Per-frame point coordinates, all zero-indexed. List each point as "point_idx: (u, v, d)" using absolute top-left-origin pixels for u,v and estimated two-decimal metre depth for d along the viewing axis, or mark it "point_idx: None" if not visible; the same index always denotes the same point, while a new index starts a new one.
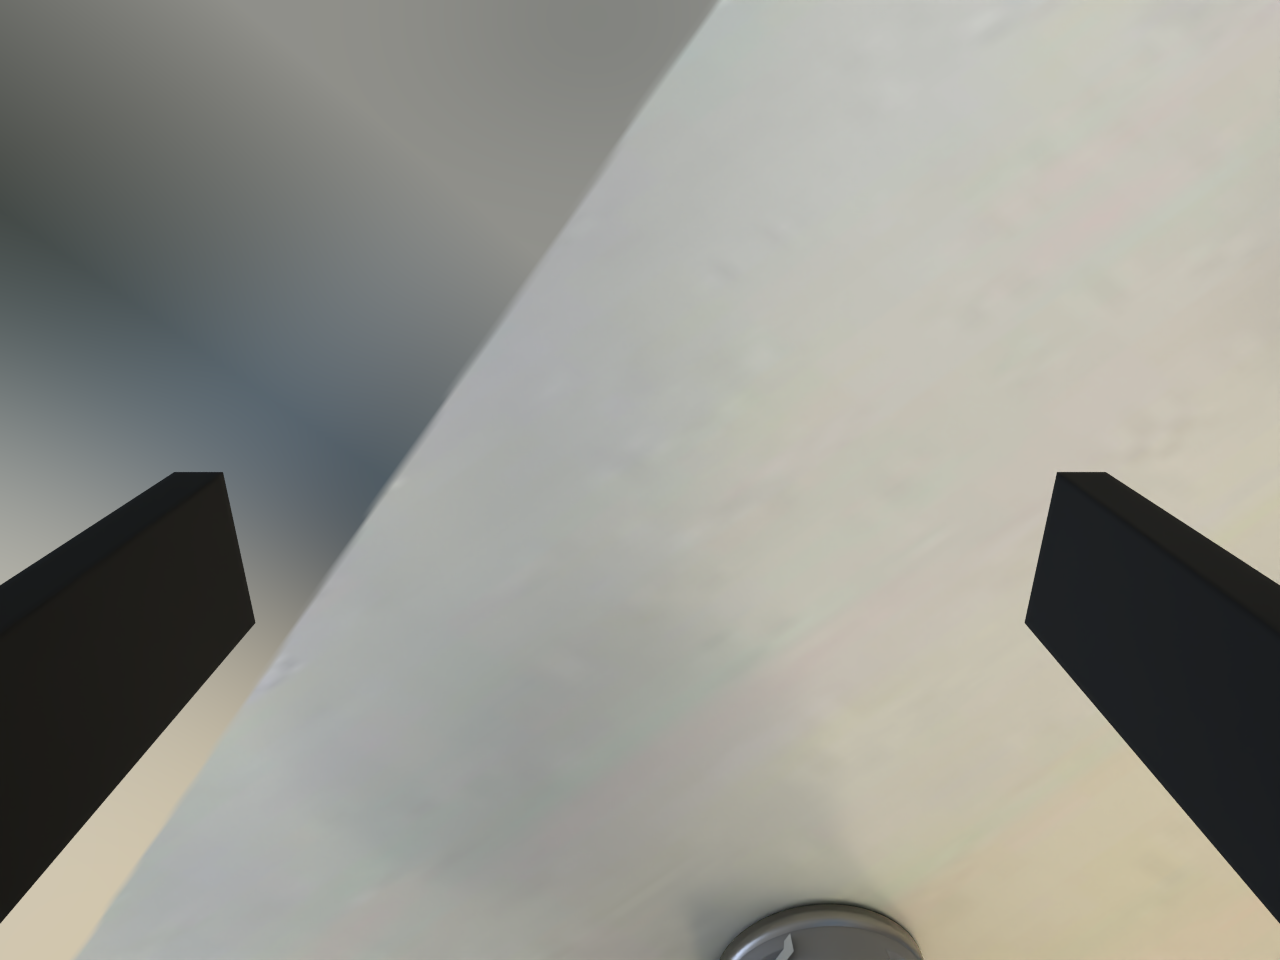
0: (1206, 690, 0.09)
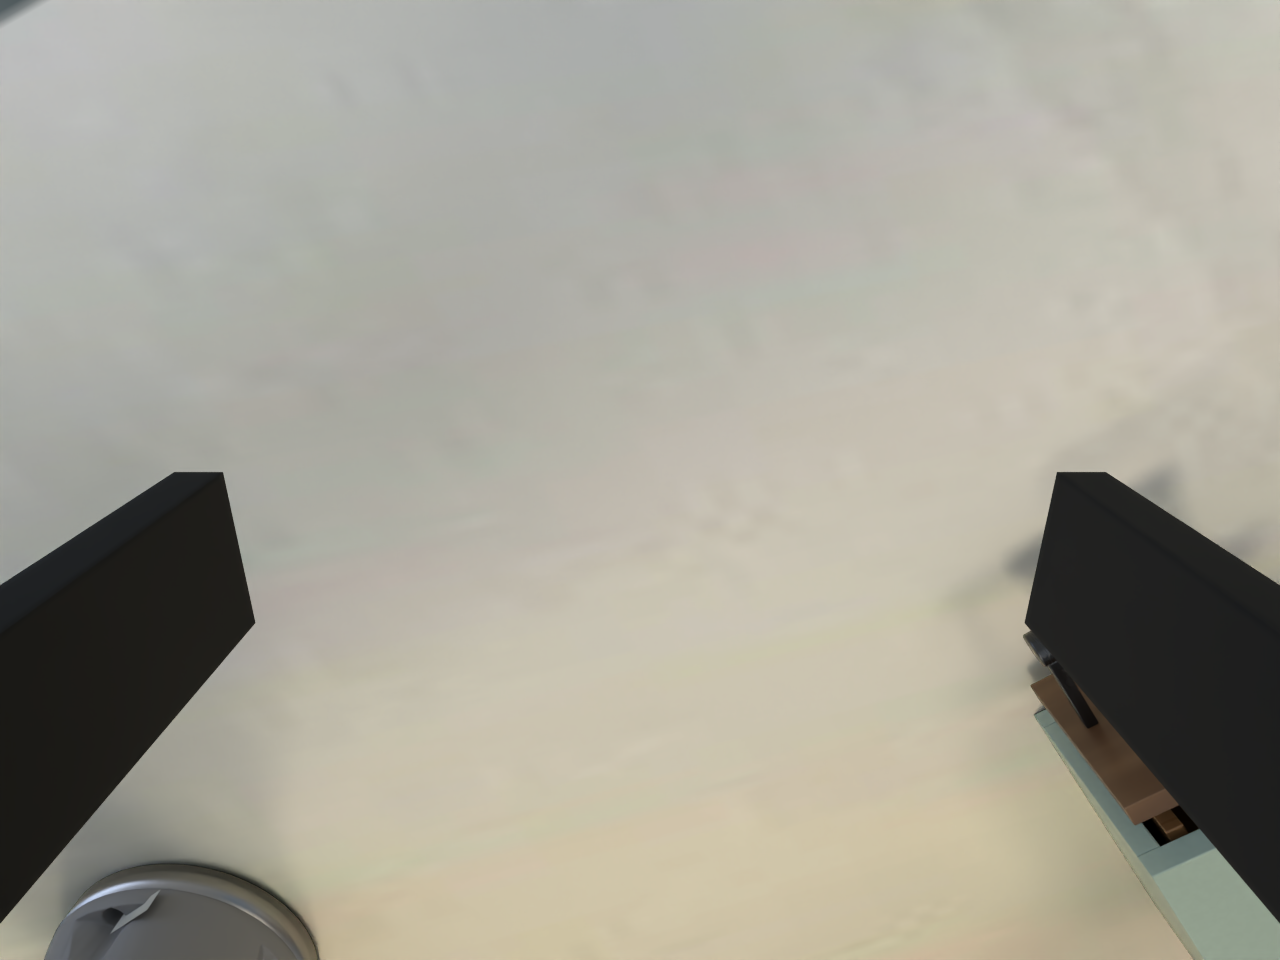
0: (1206, 691, 0.09)
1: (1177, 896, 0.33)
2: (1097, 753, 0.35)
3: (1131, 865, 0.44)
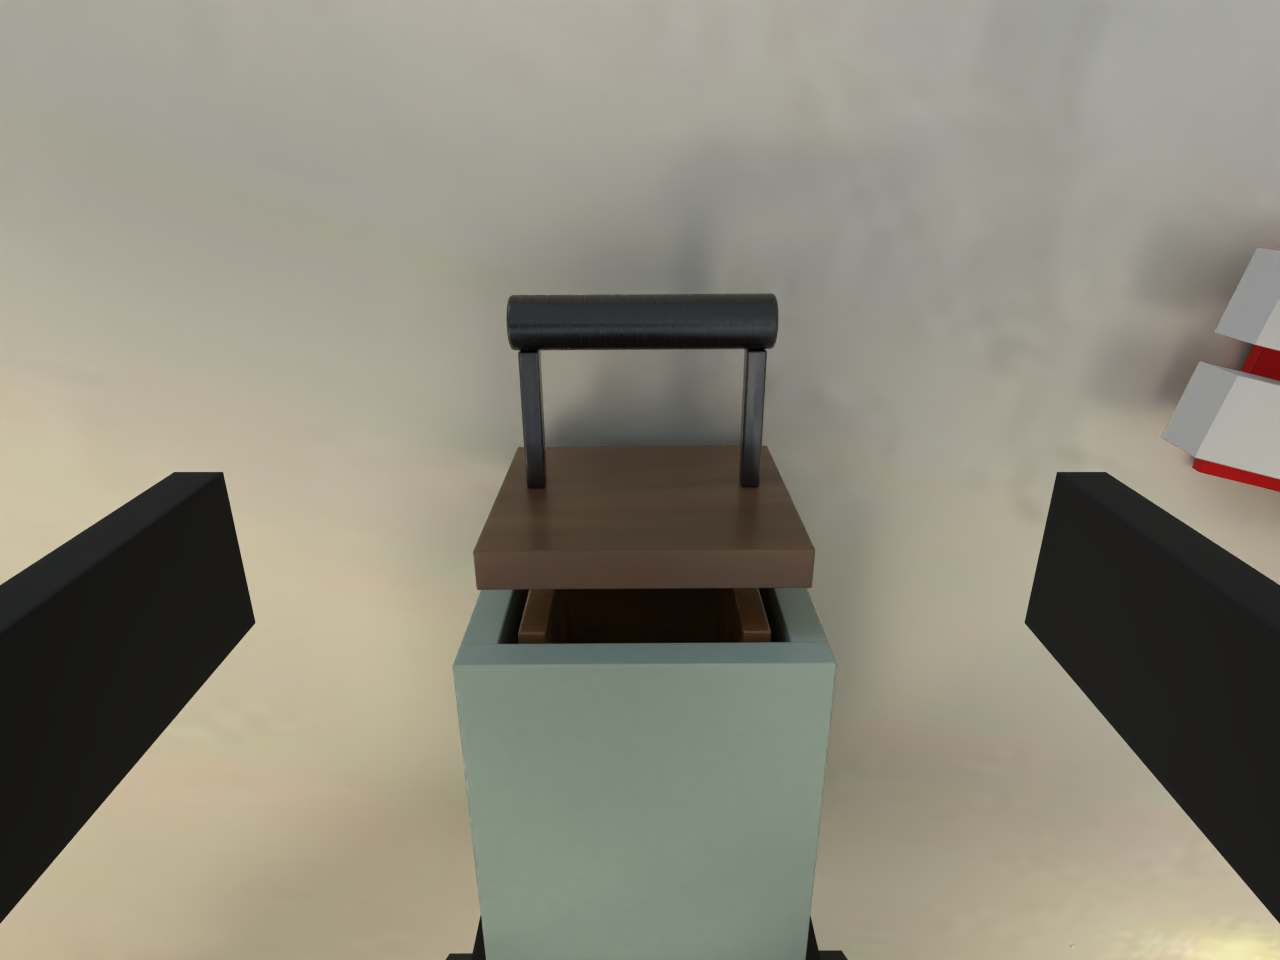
0: (1206, 690, 0.09)
1: (474, 716, 0.21)
2: (510, 506, 0.23)
3: None
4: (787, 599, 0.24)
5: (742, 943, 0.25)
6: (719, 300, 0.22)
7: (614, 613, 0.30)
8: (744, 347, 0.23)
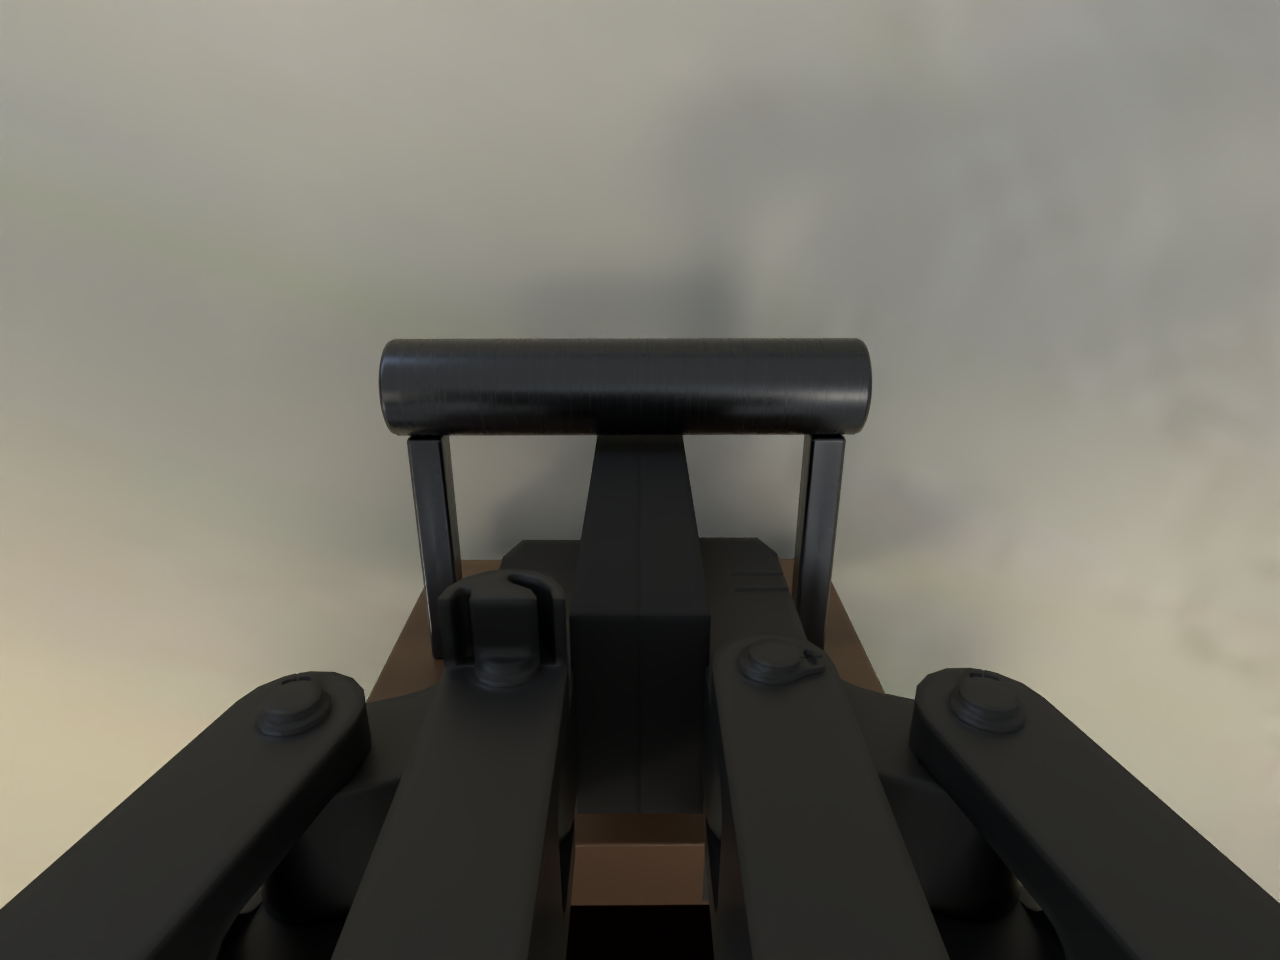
0: None
1: None
2: None
3: None
4: None
5: None
6: (765, 351, 0.12)
7: None
8: (807, 433, 0.13)
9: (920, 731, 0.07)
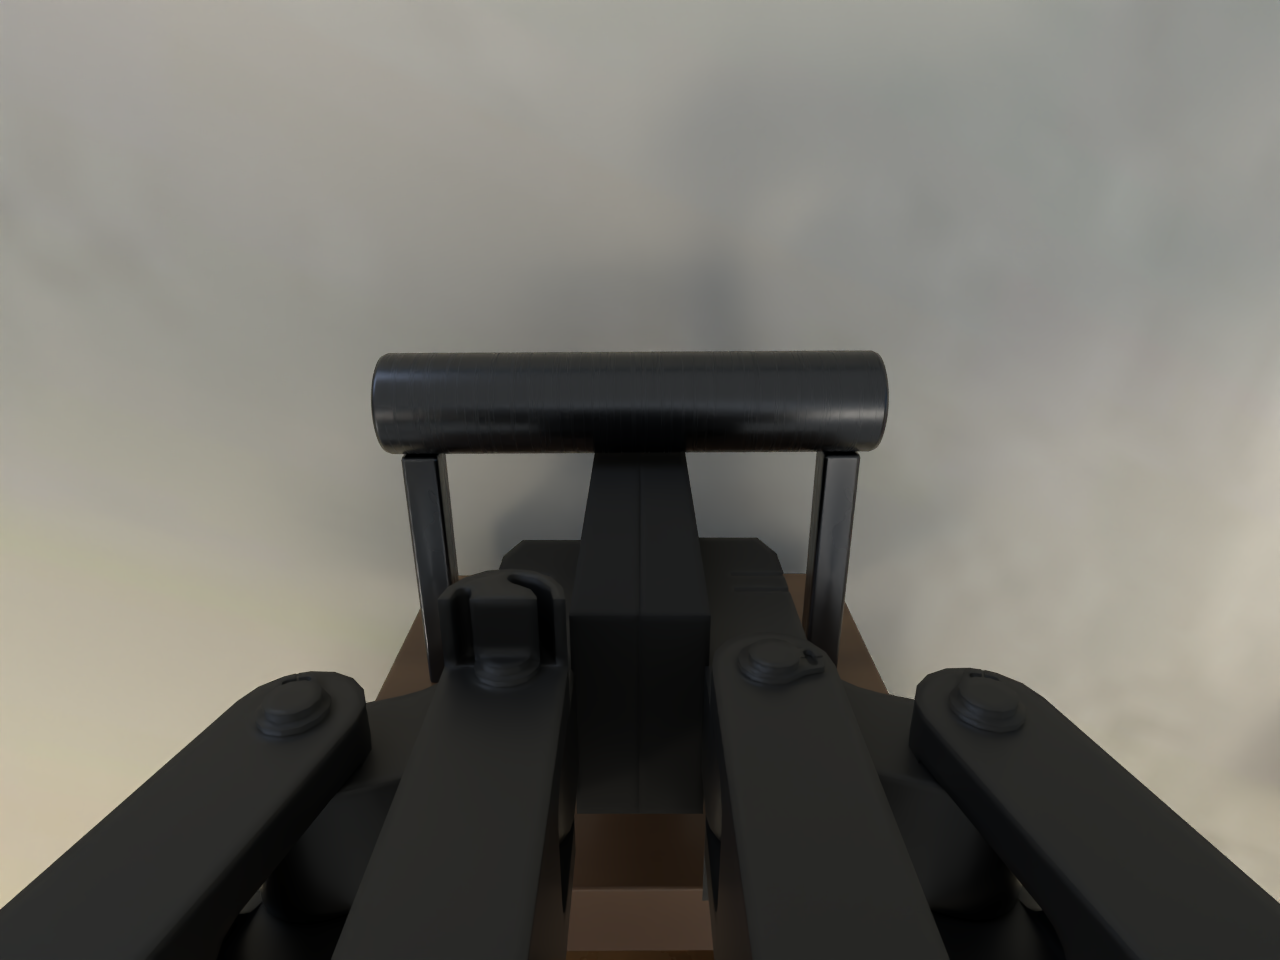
0: None
1: None
2: None
3: None
4: None
5: None
6: (776, 365, 0.12)
7: None
8: (820, 450, 0.12)
9: (919, 732, 0.07)
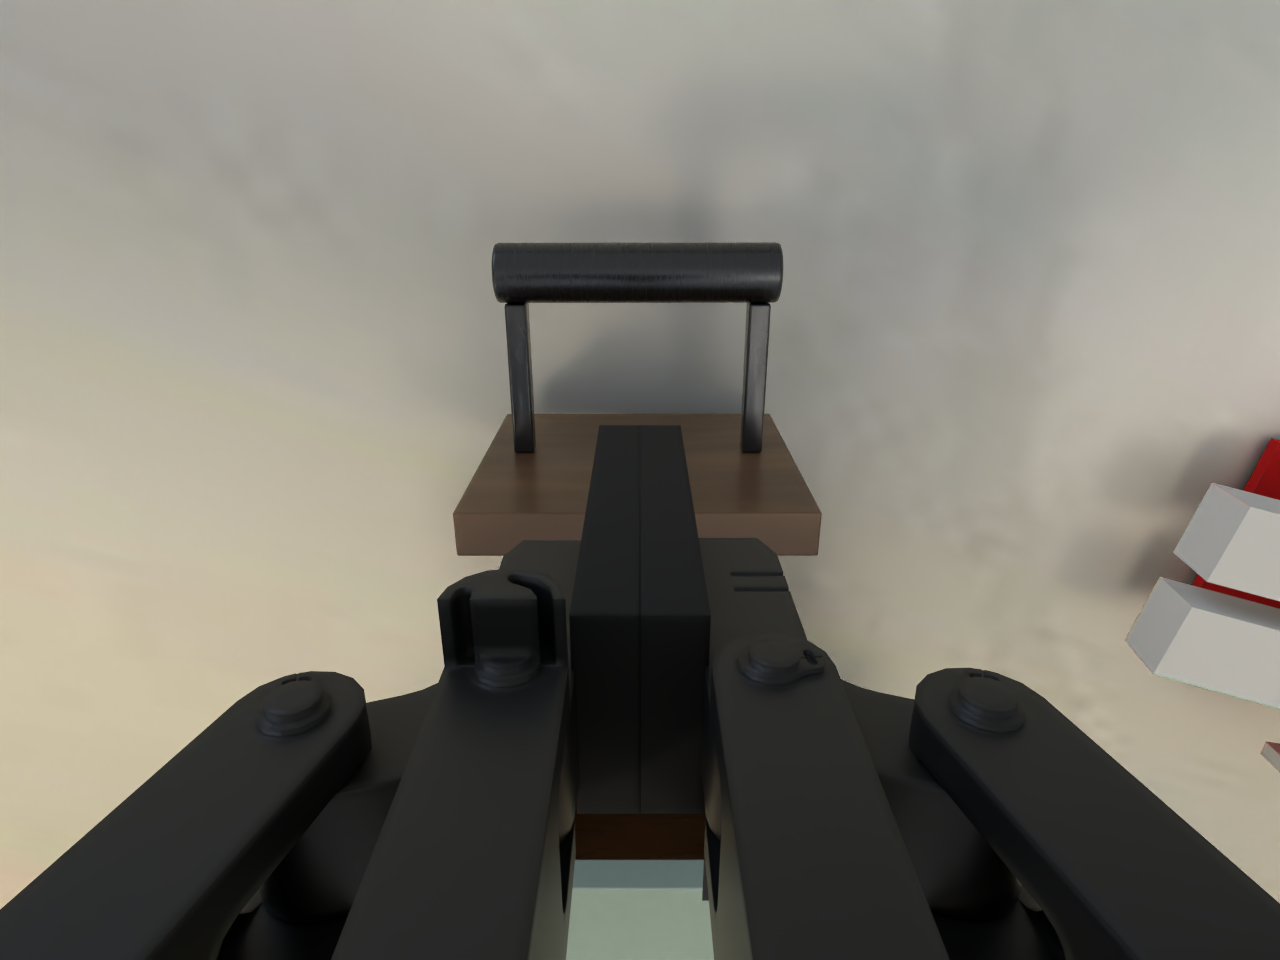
0: None
1: None
2: (495, 470, 0.22)
3: None
4: None
5: None
6: (720, 248, 0.21)
7: None
8: (746, 300, 0.21)
9: (920, 731, 0.07)
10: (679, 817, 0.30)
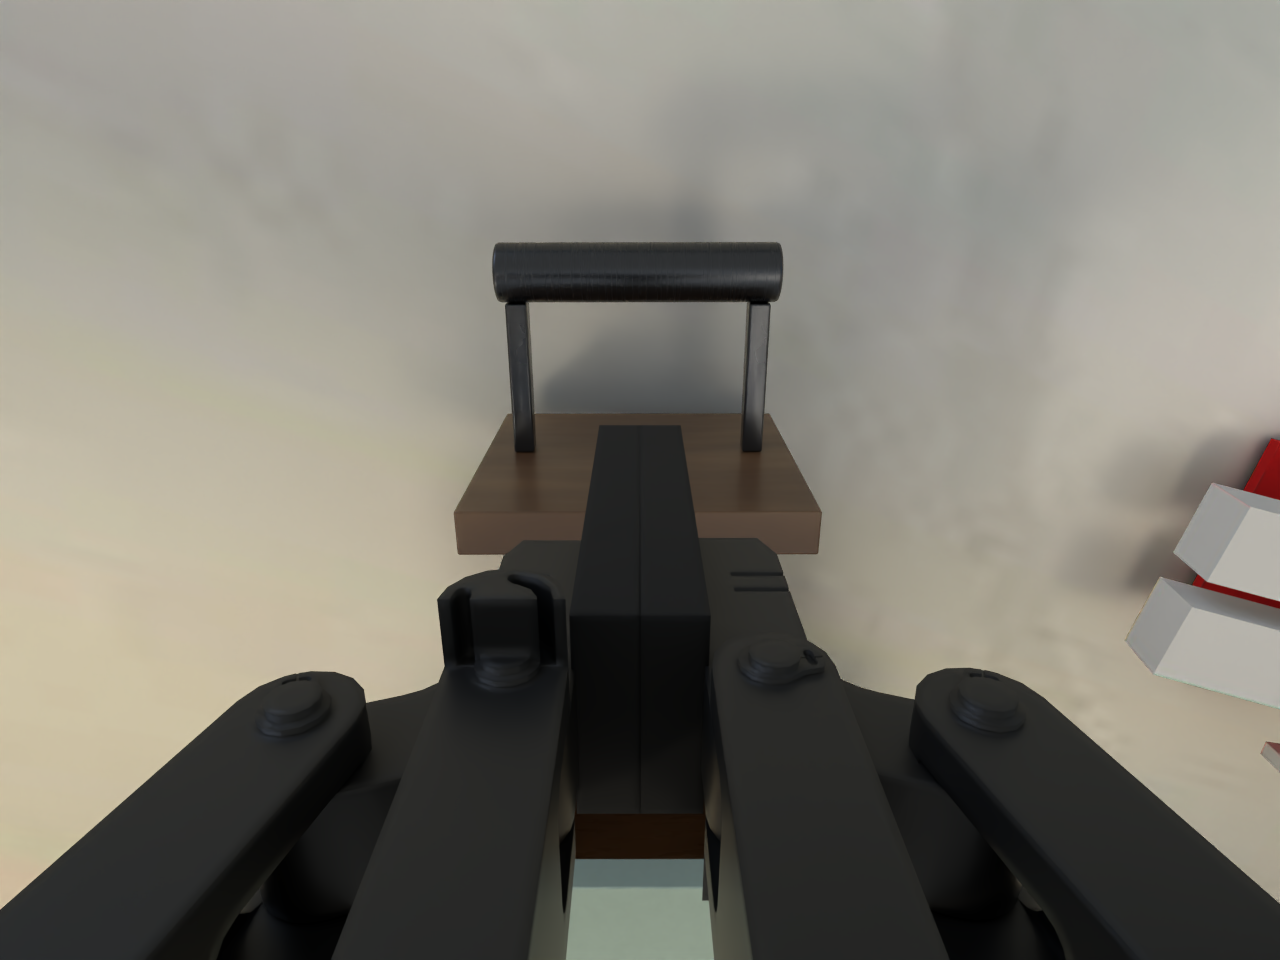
0: None
1: None
2: (495, 469, 0.22)
3: None
4: None
5: None
6: (720, 248, 0.21)
7: None
8: (746, 299, 0.21)
9: (920, 731, 0.07)
10: (679, 817, 0.30)
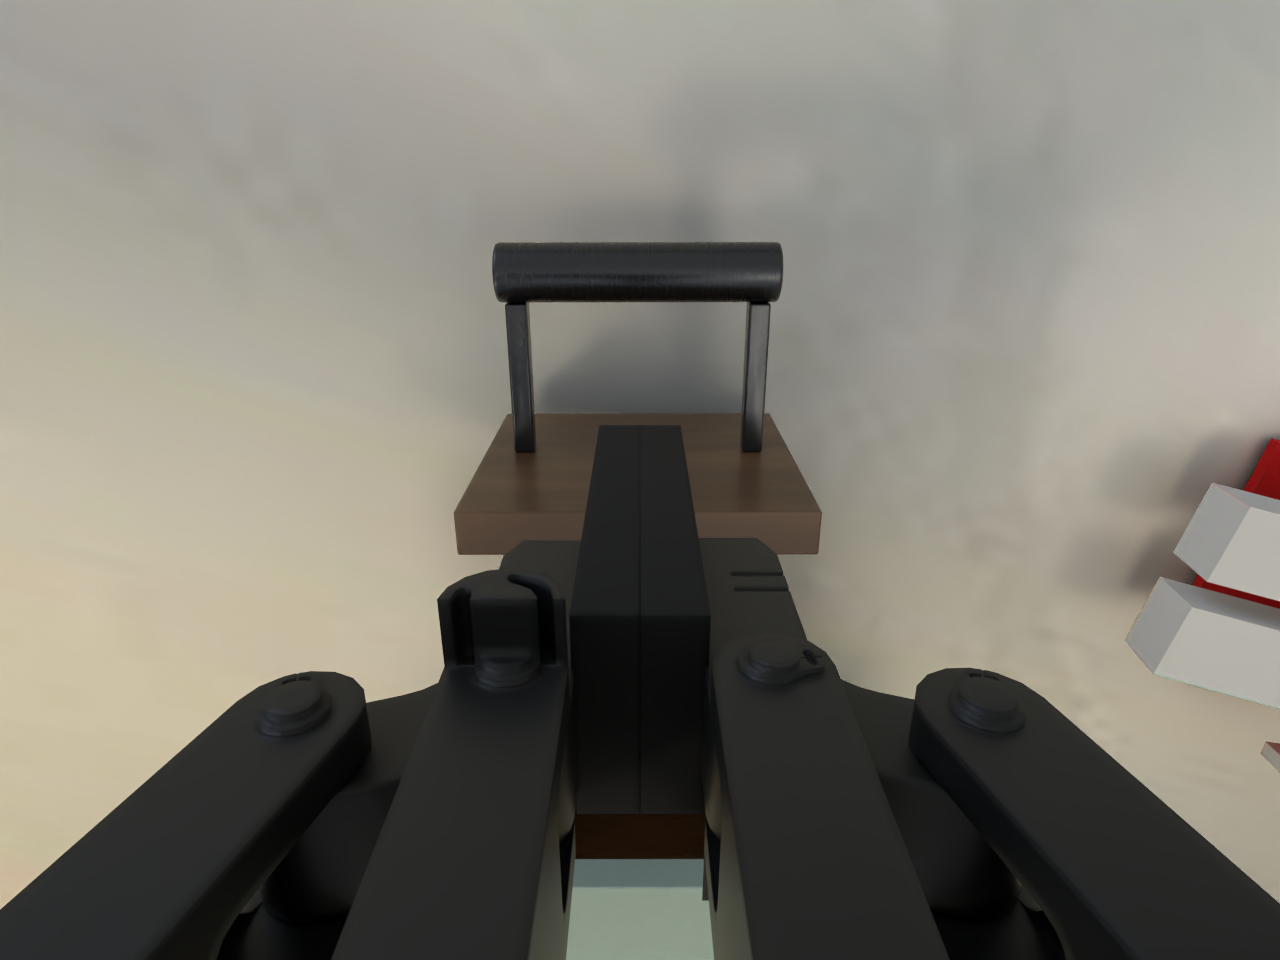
0: None
1: None
2: (495, 469, 0.22)
3: None
4: None
5: None
6: (720, 248, 0.21)
7: None
8: (746, 299, 0.21)
9: (920, 731, 0.07)
10: (679, 817, 0.30)
